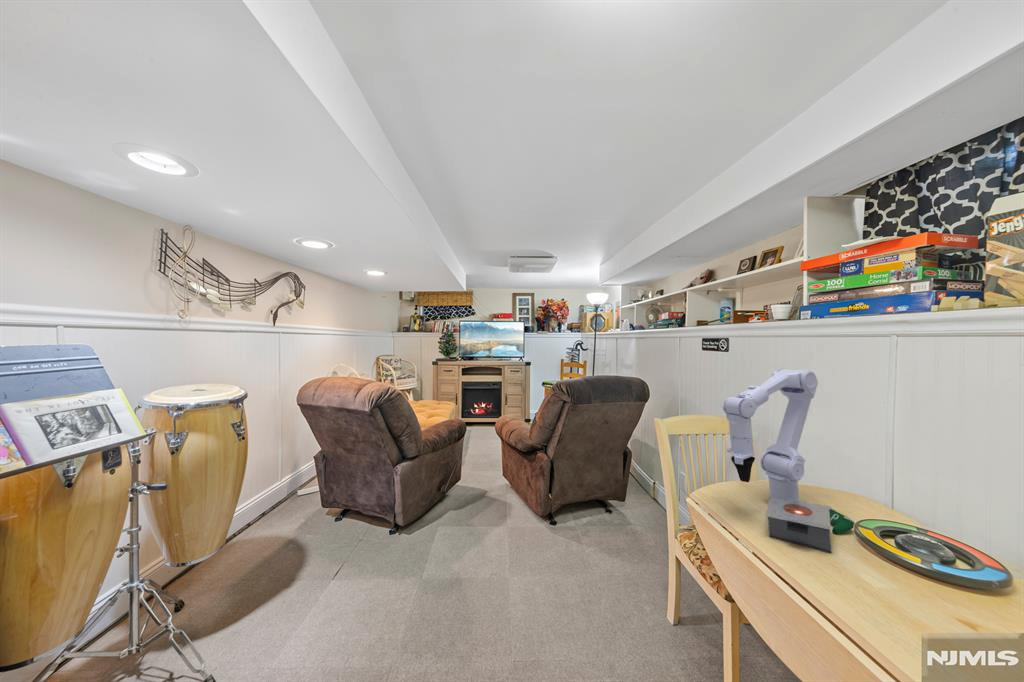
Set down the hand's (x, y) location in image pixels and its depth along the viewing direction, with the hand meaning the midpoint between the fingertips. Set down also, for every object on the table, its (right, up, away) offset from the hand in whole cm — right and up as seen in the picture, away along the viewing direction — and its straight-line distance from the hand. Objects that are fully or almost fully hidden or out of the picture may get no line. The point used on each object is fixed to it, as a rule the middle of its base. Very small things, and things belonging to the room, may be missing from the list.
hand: (745, 481), depth 100 cm
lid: (+6, -4, -11) cm, 14 cm away
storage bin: (+7, -10, -11) cm, 16 cm away
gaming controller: (+19, -9, -9) cm, 23 cm away
